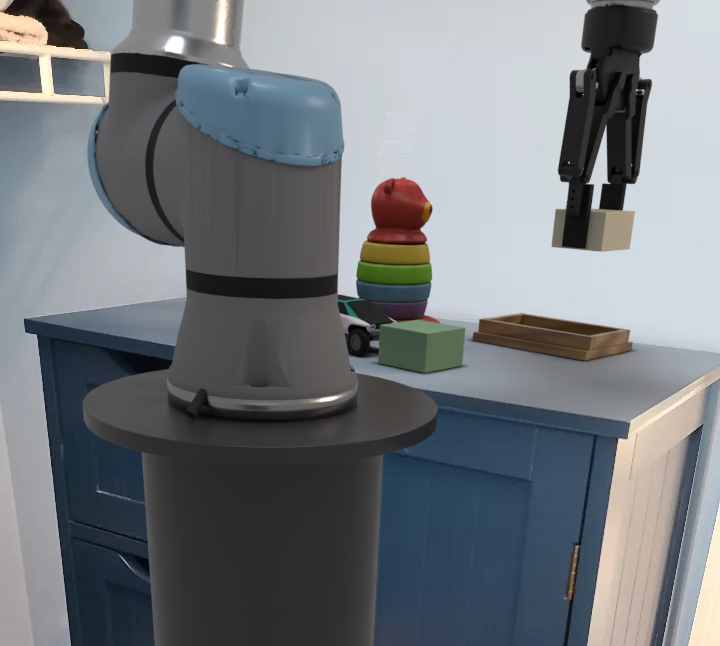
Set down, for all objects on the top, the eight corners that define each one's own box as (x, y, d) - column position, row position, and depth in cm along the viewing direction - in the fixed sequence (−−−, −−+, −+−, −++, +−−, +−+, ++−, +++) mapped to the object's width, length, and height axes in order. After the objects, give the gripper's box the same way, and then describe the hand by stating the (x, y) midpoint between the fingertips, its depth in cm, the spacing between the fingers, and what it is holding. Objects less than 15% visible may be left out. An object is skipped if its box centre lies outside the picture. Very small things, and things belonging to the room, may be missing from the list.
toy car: (335, 336, 116) (337, 290, 114) (402, 352, 108) (405, 303, 106) (297, 340, 113) (298, 293, 110) (363, 357, 105) (365, 307, 102)
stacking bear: (414, 343, 114) (424, 179, 106) (339, 334, 117) (343, 175, 109) (446, 332, 122) (458, 179, 114) (375, 324, 126) (382, 175, 118)
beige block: (601, 251, 105) (606, 212, 103) (551, 247, 109) (555, 208, 107) (629, 249, 110) (635, 211, 108) (580, 244, 113) (585, 208, 112)
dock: (585, 360, 108) (588, 338, 107) (472, 340, 118) (474, 319, 117) (631, 350, 116) (635, 329, 114) (522, 332, 125) (524, 312, 124)
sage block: (424, 373, 98) (427, 333, 97) (377, 363, 102) (379, 324, 100) (462, 365, 103) (465, 327, 101) (416, 356, 107) (418, 319, 105)
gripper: (607, -8, 90) (573, 252, 101) (697, 17, 103) (659, 245, 114) (540, -2, 95) (515, 246, 105) (634, 21, 108) (603, 240, 118)
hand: (590, 245), depth 109 cm, fingers closed on beige block, 6 cm apart
